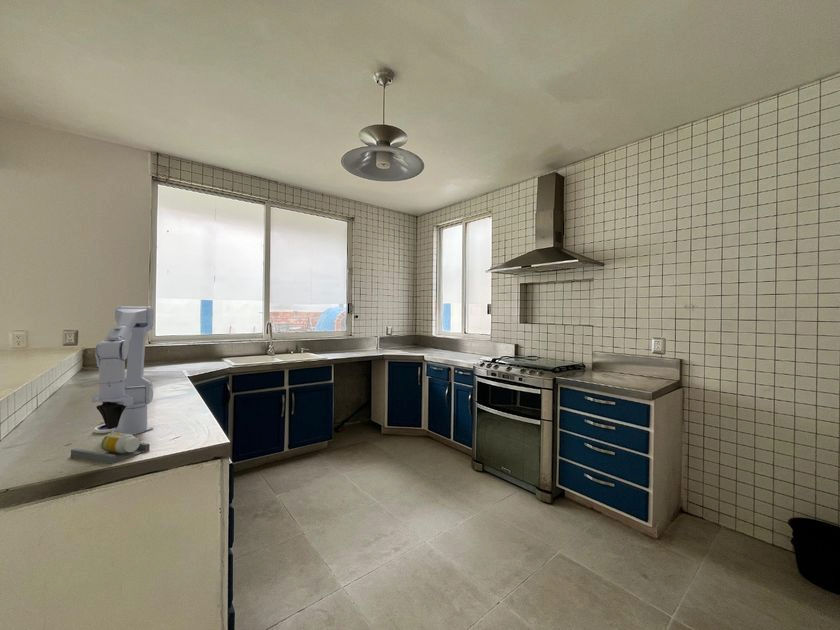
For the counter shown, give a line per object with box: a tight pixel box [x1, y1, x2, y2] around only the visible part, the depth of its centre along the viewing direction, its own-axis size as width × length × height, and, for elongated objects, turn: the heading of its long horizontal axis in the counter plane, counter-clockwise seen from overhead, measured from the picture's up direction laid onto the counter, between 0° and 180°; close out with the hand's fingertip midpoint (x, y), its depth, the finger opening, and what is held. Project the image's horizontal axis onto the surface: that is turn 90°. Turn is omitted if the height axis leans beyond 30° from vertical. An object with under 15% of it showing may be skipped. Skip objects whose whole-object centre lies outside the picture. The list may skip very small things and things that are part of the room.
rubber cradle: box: [70, 442, 151, 465], centre depth 103 cm, size 17×10×2 cm, turn 73°
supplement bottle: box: [100, 432, 141, 454], centre depth 103 cm, size 5×5×10 cm
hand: (112, 427), depth 103 cm, fingers closed
